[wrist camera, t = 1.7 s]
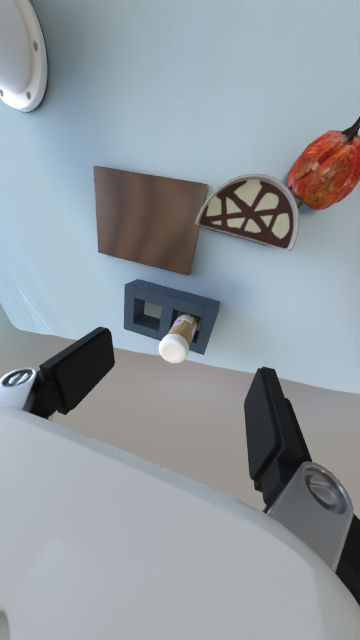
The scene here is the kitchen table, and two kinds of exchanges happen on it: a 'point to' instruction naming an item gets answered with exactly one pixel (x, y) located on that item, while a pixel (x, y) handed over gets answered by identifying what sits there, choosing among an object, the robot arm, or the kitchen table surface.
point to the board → (148, 218)
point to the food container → (253, 211)
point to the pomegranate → (327, 168)
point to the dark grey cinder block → (167, 312)
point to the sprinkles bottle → (179, 338)
